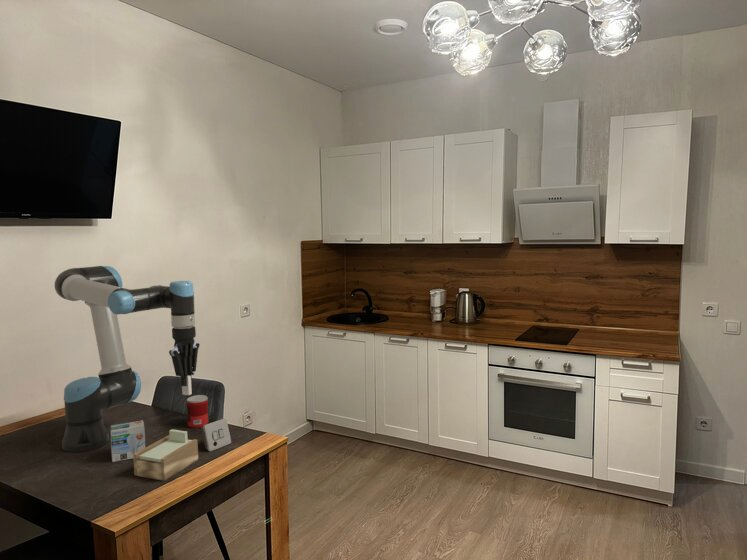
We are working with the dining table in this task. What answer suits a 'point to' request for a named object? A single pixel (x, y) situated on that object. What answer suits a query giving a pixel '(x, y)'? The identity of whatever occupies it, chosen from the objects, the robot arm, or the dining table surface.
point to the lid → (166, 446)
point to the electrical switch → (216, 434)
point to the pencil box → (165, 461)
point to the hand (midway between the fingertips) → (187, 394)
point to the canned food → (197, 411)
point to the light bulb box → (127, 440)
